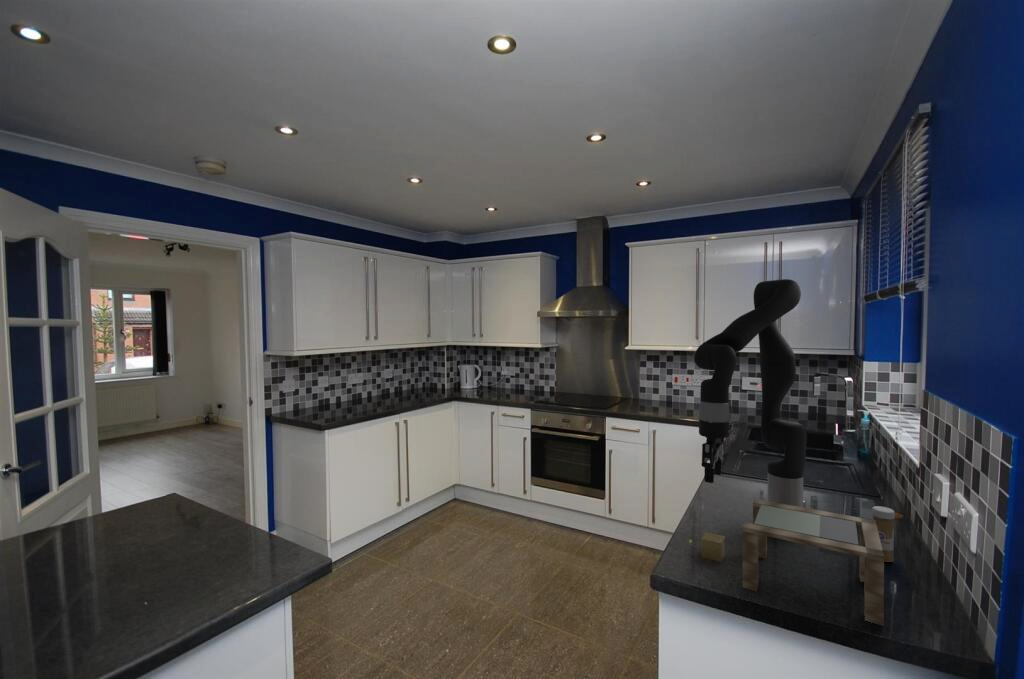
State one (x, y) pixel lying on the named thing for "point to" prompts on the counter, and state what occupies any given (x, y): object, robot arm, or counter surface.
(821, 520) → the trapdoor
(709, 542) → the block
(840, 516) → the trapdoor frame
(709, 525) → the counter surface
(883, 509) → the sprinkles bottle
